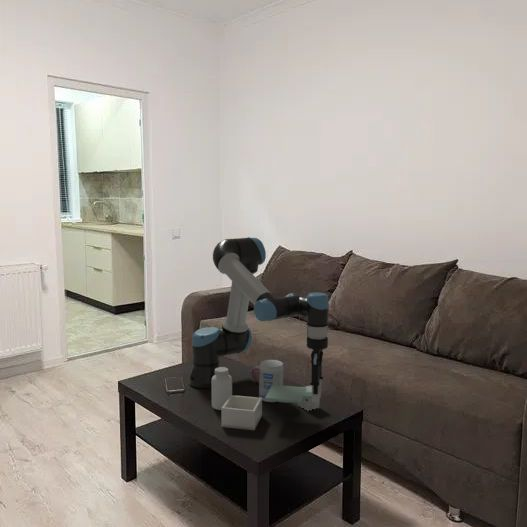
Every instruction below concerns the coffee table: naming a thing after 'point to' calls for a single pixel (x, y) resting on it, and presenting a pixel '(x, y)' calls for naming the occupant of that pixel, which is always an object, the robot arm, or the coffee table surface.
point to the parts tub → (241, 412)
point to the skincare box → (308, 401)
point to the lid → (288, 394)
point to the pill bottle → (221, 387)
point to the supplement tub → (269, 377)
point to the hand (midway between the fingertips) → (316, 399)
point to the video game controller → (256, 373)
